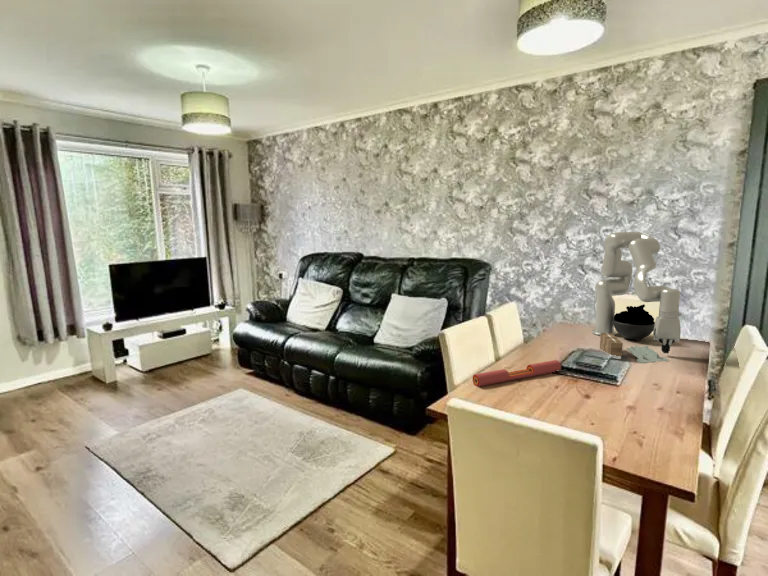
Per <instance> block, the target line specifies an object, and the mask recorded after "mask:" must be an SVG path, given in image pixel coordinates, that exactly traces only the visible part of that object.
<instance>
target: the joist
mask: <svg viewBox="0 0 768 576" xmlns="http://www.w3.org/2000/svg"><path fill="white" fill-rule="evenodd" d="M599 339H600V342H599V349H600V350H601V351H602V350H603V351H605V352H607V353H609V354H611V355H616V356H622V357H623V347H624V346H623V345H624V343H623V342H622V341H621V340H620V339H619V338H617V336H616V335H615V336H614V335H613V334H612V333H601V336H600V338H599ZM603 351H602V352H603Z"/></svg>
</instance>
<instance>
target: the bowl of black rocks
mask: <svg viewBox="0 0 768 576" xmlns="http://www.w3.org/2000/svg"><path fill="white" fill-rule="evenodd" d="M645 307H646V305H645V303H644V304H641V305H638V306H635V305H634V306H633V305H630V306H629V305H628V306H627V305H626V310H624V311H620V312H619V313H618V312H615V316H614V319H613V325H614V330H615V332H616V333H618V334H619V335H620V336H621V337H623V338H625V339H628V340H631V341H632V340H633V341H638V340H642V339H645V338H647V337H649V335H651V334H653V330H654V324H655V317H653V315H652V314H650V312H649V311H647V310H646V309H644V308H645Z"/></svg>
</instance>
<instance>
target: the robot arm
mask: <svg viewBox="0 0 768 576" xmlns="http://www.w3.org/2000/svg"><path fill="white" fill-rule="evenodd" d="M622 249H628V250H629V251H630V252H629V253H630V255H631V258H632V260H633V263H634V266H635V269H636V272H635V274H634V276H633V287H634V290H635V294H636V296H637V297H638V299H639V300H640V301H641V302H644V303H655V302H656V303H657V302H659V307H658V309H659V310H658V312H659V313H658V316H656V317H655V319H654V322H655V324H654V330H653V332H652V335H653V340H654V341H657V342H659V343H660V344H661V347H660V348H661V352H662V353H663V354H669V353H670V351H671V346H672V344H674V343H675V342H676V343H677V342H680V341H681V340H680V338H681V332H682V331H681V320H680V318H679V317H680V316H683V314H682V313H681V312H679V311H680V299H681V292H680V291H681V290H679V289H678V288H677V289H676V288H670V287H668V286H665V285H656V286H655V285H654V286H653V285H651V286H648V283H647V280H646V275H647V273H648V272H650V271H652V270H654V269H655V268H656V266H657V262H656V261H655V259H654V256H653V255H656V254H658V253H659V252H660V249H661V245H660V242H659V240H658V239H656V238H655V237H652V236H650V235H648V234H645V233H644V232H639V231H625V232H624V231H622V232H621V231H620V232H619V231H618V232H612V233H610V234H608V235H607V236H606V238H605V241H604V255H603V261H602V265H601V266H602V267H601V275H602V276H603V277H605V279H600V280H598V281H597V282H596V283H595V286H594V288H595V295H596V297H595V298H596V303H595V304H596V305H595V326H594V329H592V330H591V334H593V335H595V336H600V337H601V333H612V334H613V335H614V336H615V337H616V336H617V333H618V332H617V331H616V330H615V327H614V325H613V319H614V316H615V314H616V302H615V300H614V298H613V296H614V297H615V296H623V295H624V296H625V295H626V294H627V293H628V292H629V290H630V286H631V285H630V284H631V281H632V275H633V266H632V263H631V262H630V261H628V260H626V259H625V260H623V259H622V256H623V252H622Z"/></svg>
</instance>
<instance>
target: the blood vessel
mask: <svg viewBox="0 0 768 576" xmlns="http://www.w3.org/2000/svg"><path fill="white" fill-rule="evenodd" d="M561 369H562V366H561V363H560V361H559V360H557V359H554V360H549V361H543V362H542V361H541V362H537V363H532V364H528V365H526V369H525V368H524V369H520V370H514V371H509V372H508V371H507V369H506V368H504V369H497V370H493V371H492V370H491V371H485V372H481V373H475V374H473V375H472V382H473V385H474V386H475V387H478V388H479V387H483V386H489V385H493V384H500V382H501V383H505V382H510V381H515V380H520V379H521V378H522V379H526V377H527V378H531V377H537V376H542V374H543V375H546V374H547V373H548V374H552V372H553V373H556V372H555V371H557V370H560V371H561Z"/></svg>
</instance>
